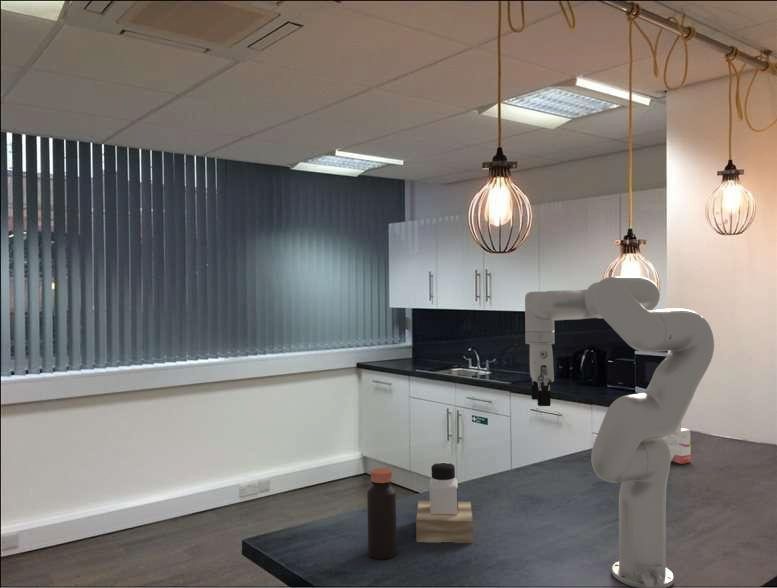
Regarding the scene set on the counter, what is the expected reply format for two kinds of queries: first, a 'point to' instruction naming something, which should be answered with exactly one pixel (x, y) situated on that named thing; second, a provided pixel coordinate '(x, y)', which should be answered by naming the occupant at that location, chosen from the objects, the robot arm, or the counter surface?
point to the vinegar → (381, 515)
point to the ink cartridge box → (679, 445)
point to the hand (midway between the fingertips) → (540, 402)
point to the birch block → (444, 525)
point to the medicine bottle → (443, 490)
